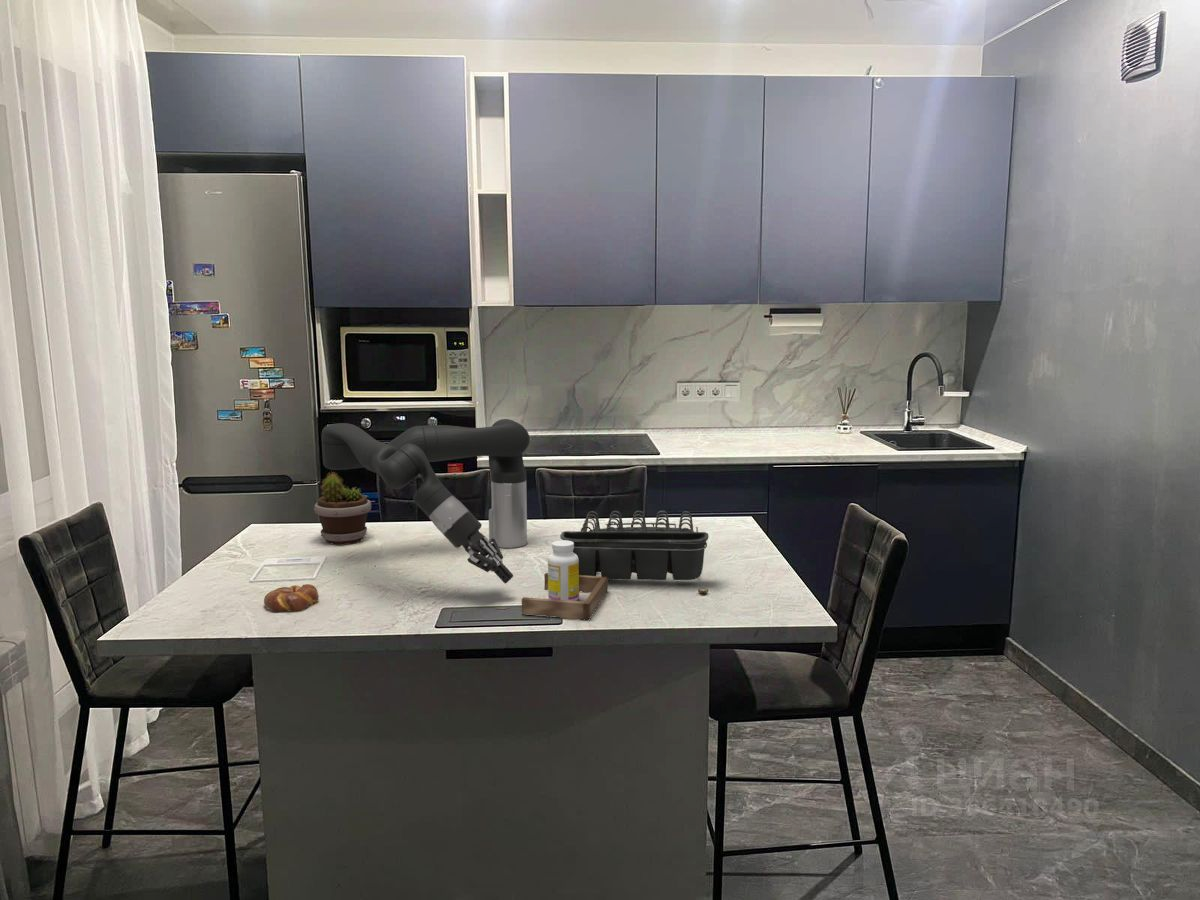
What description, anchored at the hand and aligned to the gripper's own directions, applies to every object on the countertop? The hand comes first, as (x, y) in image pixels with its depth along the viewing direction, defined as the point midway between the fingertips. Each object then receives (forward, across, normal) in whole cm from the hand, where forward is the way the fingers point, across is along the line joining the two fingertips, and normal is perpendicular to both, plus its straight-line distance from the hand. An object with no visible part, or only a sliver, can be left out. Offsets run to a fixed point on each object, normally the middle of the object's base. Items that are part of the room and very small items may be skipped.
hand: (509, 579), depth 193 cm
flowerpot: (-38, -37, -45) cm, 69 cm away
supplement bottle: (+11, -2, +5) cm, 13 cm away
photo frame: (-37, -10, -45) cm, 59 cm away
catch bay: (+12, 0, +6) cm, 13 cm away
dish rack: (+19, -35, +13) cm, 42 cm away
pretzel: (-28, +12, -35) cm, 47 cm away
